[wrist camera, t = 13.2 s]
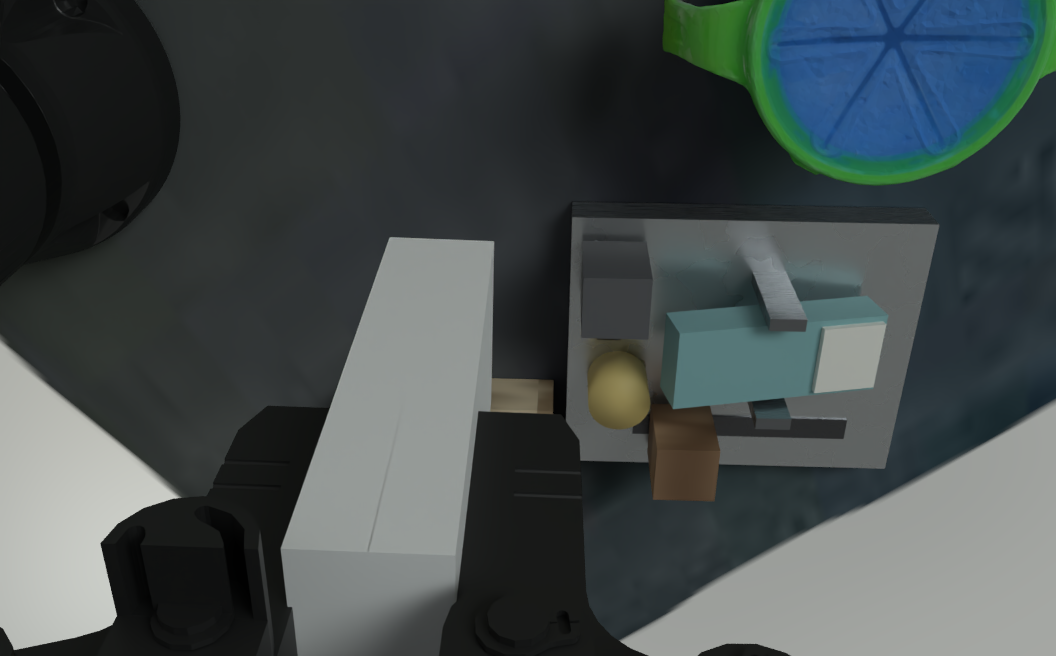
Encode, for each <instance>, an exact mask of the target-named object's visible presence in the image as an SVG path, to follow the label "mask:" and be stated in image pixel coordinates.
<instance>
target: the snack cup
mask: <svg viewBox="0 0 1056 656" xmlns="http://www.w3.org/2000/svg"><path fill="white" fill-rule="evenodd" d="M664 7H665V12H664V31H663V50H664V51H666V52H670V53H672V54H675V55H677V56H679V57H681V58H683V59H685V60H686V61H688V62H690V63H692V64H694V65H695V66H698V67H700V68H702V69H705V70H707V71H710V72H712V73H714V74H716V75H719V76H722V77H724V78H727V79H730V80H732V81H735V82H737V83H739V84H741V85H743V86H744V87H745V88H746V89H747V90H748V91H749V93H750V95H751V97H752V100H753V103H754V105H755V107H756V109H757V112H758V114H759V116H760V117H761V119H762V121H763V123H764V124H765V126H766V128H767V129H768V131H769V132H770V134H771V135H772V136H773V137H774V139H775V140H776V141H777V142H778V144H780V145H781V146H782V147H783V148H784V149H785V150H786V151H787V152H788V153H789V154H790V157H791V159H792V160H793V161H794V163H795V164H796V165H798V166H800V167H802V168H803V169H805V170H807V171H809V172H811V173H813V174H814V175H817V174H819V173H821V174H823V175H825V176H828V177H830V178H833V179H837V180H841V181H844V182H849V183H854V184H861V185H889V184H899V183H904V182H910V181H914V180H917V179H921V178H924V177H927V176H930V175H933V174H936V173H939V172H942V171H944V170H947V169H949V168H952V167H954V166H956V165H957V164H959V163H960V162H961V161H963V160H965V159H966V158H968V157H969V156H971V155H973V154H974V153H975V152H977V151H978V150H980V149H981V148H982V147H984V146H985V145H986V144H988V143H989V142H990V141H991V140H992V139H993V138H994V137H996V136H997V135H998V134H999V133H1000V132H1001V131H1002V130H1003V129H1004V128H1005V127H1006V126H1007V125H1008V124H1009V123H1010V121H1011V120H1012V119H1013V118H1014V116H1015V115H1016V114H1017V113H1018V112H1019V110H1020V109H1021V108H1022V106H1023V105H1024V104H1025V102H1026V101H1027V99H1028V98H1029V96H1030V95H1031V93H1032V91H1033V89H1034V87H1035V85H1036V84H1037V82H1038V80H1039V79H1040V78H1043V77H1044V76H1045V75H1047V74H1049V73H1051V72H1053V71H1056V0H739V1H734V2H730V3H726V4H719V5H712V6H703V7H697V6H694V5H691V4H689V3H685V2H683V1H681V0H664Z"/></svg>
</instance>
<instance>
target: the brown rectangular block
mask: <svg viewBox="0 0 1056 656" xmlns="http://www.w3.org/2000/svg"><path fill="white" fill-rule="evenodd" d="M647 454H648V462H649V470H650V479H651V487H652V495H653V500H689V501H714V500H715V492H716V483H717V475H718V467H719V459H720V447H719V443H718V438H717V434H716V430H715V425H714V421H713V417H712V412H711V408H710V406H700V407H690V408H680V409H673V408H672V407H671V405H670V404H651V410H650V423H649V435H648V448H647Z"/></svg>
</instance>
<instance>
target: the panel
mask: <svg viewBox="0 0 1056 656" xmlns="http://www.w3.org/2000/svg"><path fill="white" fill-rule="evenodd" d="M938 228H939V224H938V223H937V221H936V220H935V219H934V218H933V217H932V215H931V214H930V213H929V212H928V211H927V209H926V208H879V207H827V206H776V205H725V204H673V203H622V202H572V223H571V255H570V288H569V321H568V354H567V387H566V419H565V420H566V422H567V423H568V425H569V426H570V428H571V429H572V430H573V432H574V433H575V435H576V436H577V437H578V439H579V440H580V461H617V462H648V454H647V448H648V435H649V423H650V410H651V404H670V403H669V401H668V400H667V398H666V396H665V394H664V393H663V391H662V389H661V387H660V380H661V369H662V357H663V345H664V333H665V321H666V313H669V312H681V311H693V310H705V309H716V308H728V307H740V306H752V305H760V308H761V311H762V313H763V316H764V319H765V321H766V324H767V327H768V330H769V331H788V332H806V327H807V321H808V319H807V317H806V315H805V313H804V310H803V308H802V306H801V304H800V301H811V300H823V299H835V298H847V297H859V296H868V297H869V298H870V299H871V300H873V301H874V302H875V303H876V304H877V305H878V306H879V307H880V308H881V309H882V310H883V311H884V312H885V313H887V314H888V320H887V324H886V329H885V334H884V339H883V344H882V349H881V353H880V358H879V363H878V368H877V373H876V378H875V382H874V387H873V389H868V390H858V391H848V392H838V393H828V394H818V395H808V396H799V397H789V398H779V399H769V400H759V401H749V402H739V403H729V404H720V405H710V408H711V412H712V417H713V421H714V425H715V430H716V434H717V438H718V443H719V447H720V459H719V464H730V465H768V466H806V467H844V468H881V469H885V465H886V461H887V456H888V452H889V447H890V443H891V438H892V434H893V429H894V425H895V421H896V416H897V412H898V407H899V403H900V398H901V394H902V389H903V385H904V380H905V376H906V371H907V367H908V362H909V358H910V353H911V349H912V345H913V340H914V336H915V331H916V327H917V322H918V318H919V313H920V309H921V304H922V300H923V295H924V291H925V286H926V282H927V277H928V273H929V268H930V264H931V260H932V255H933V251H934V246H935V242H936V237H937V233H938ZM582 241H624V242H647V248H648V254H649V259H650V265H651V271H652V277H653V286H652V299H651V312H650V325H649V339H648V340H640V339H597V338H581V304H580V293H581V266H582ZM613 351H623V352H627V353H630V354H632V355H634V356H636V357H637V358H638V359H640V361H641V362H642V363H643V364H644V366H645V369H646V373H647V380H648V388H649V395H650V409H649V412H648V414H647V415H646V417H645V418H644V419H643V420H642V421H641V422H640V423H639V424H637V425H635V426H633V427H630V428H627V429H610V428H607V427H604V426H602V425H601V424H599V423H598V422H596V421H595V420H594V418H593V417H592V416H591V414H590V411H589V407H588V382H587V374H588V370H589V367H590V366H591V364H592V363H593V361H594V360H595V359H597V358H598V357H599V356H601V355H603V354H605V353H608V352H613Z"/></svg>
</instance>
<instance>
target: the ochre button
mask: <svg viewBox="0 0 1056 656" xmlns="http://www.w3.org/2000/svg"><path fill="white" fill-rule="evenodd" d="M587 382H588V407H589V411H590V414H591V416H592V417H593V418H594V420H595V421H596V422H598V423H599V424H601V425H602V426H604V427H607V428H610V429H627V428H630V427H633V426H635V425H637V424H639V423H640V422H641V421H642V420H643V419H644V418H645V417H646V415H647V414H648V412H649V409H650V395H649V388H648V380H647V373H646V369H645V366H644V364H643V363H642V362H641V361H640V359H638V358H637V357H636V356H634V355H632V354H630V353H627V352H623V351H613V352H608V353H605V354H603V355H601V356H599V357H598V358H597V359H595V360H594V361H593V363H592V364H591V366H590V367H589V370H588V374H587Z"/></svg>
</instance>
